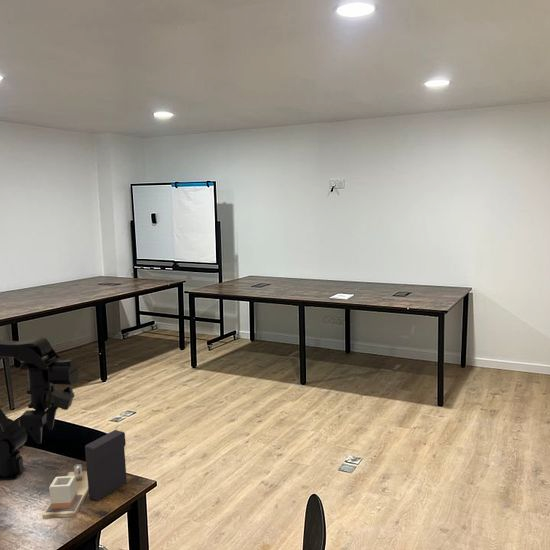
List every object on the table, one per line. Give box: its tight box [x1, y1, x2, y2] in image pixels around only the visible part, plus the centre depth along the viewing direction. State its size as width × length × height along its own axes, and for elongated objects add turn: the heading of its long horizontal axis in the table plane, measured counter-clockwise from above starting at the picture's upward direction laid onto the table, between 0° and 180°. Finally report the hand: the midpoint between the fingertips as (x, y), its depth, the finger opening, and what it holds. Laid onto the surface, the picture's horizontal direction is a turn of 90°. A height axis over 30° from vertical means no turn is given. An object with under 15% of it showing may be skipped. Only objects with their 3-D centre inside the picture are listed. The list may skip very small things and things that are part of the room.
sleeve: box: [48, 475, 77, 509], centre depth 139 cm, size 5×5×6 cm
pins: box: [73, 463, 83, 481], centre depth 145 cm, size 2×14×4 cm, turn 3°
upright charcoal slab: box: [84, 429, 128, 501], centre depth 146 cm, size 11×4×15 cm, turn 151°
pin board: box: [42, 470, 89, 519], centre depth 145 cm, size 8×21×1 cm, turn 3°
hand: (45, 436), depth 154 cm, fingers open, 9 cm apart
